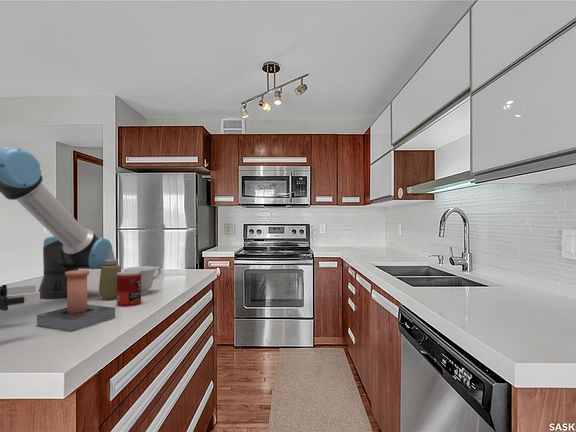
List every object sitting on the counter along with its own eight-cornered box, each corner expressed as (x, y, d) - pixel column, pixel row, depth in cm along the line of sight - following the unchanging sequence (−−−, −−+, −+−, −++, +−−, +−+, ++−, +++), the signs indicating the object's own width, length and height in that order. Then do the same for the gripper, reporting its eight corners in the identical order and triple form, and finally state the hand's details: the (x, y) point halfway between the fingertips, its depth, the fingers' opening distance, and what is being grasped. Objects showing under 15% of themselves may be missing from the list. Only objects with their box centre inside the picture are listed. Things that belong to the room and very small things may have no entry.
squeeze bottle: (127, 296, 138) (127, 249, 138) (111, 301, 131) (110, 251, 131) (111, 295, 141) (110, 248, 141) (93, 300, 133) (93, 250, 133)
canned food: (132, 307, 123) (132, 274, 123) (111, 306, 124) (111, 273, 124) (146, 301, 130) (145, 270, 130) (125, 300, 132) (125, 270, 132)
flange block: (36, 325, 102) (36, 314, 102) (82, 313, 115) (82, 303, 115) (71, 331, 97) (71, 320, 97) (115, 317, 109) (115, 307, 109)
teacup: (168, 292, 147) (168, 267, 147) (132, 298, 136) (132, 271, 136) (153, 288, 155) (153, 264, 155) (117, 294, 144) (117, 268, 144)
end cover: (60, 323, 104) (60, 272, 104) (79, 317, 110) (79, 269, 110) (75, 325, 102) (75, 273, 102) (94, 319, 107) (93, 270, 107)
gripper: (-64, 310, 96) (34, 299, 109) (-80, 334, 77) (42, 316, 90) (-64, 282, 96) (34, 274, 109) (-80, 298, 77) (42, 286, 90)
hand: (37, 293), depth 100 cm, fingers open, 13 cm apart
